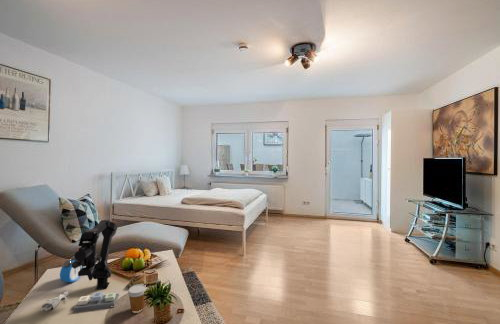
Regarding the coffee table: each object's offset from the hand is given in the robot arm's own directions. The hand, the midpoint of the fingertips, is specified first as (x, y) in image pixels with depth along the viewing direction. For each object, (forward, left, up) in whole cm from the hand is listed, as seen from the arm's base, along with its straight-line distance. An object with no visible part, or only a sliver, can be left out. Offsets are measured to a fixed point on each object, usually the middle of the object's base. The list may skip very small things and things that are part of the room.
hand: (90, 280), depth 140 cm
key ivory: (+4, -2, -10) cm, 11 cm away
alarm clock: (-26, -19, -12) cm, 35 cm away
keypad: (+4, +5, -12) cm, 13 cm away
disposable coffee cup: (+15, +27, -12) cm, 33 cm away
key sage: (+4, +11, -10) cm, 16 cm away
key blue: (+4, +5, -9) cm, 11 cm away
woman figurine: (-2, -17, -13) cm, 22 cm away
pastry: (-12, +25, -12) cm, 31 cm away
